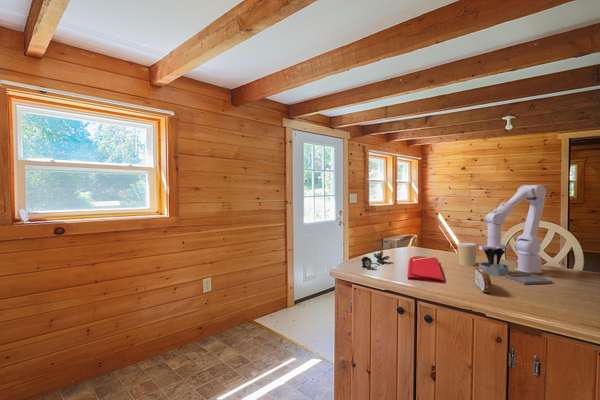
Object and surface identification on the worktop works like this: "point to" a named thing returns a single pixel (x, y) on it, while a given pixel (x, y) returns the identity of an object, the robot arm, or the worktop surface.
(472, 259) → the coffee cup
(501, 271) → the blue-grey octagonal bowl
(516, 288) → the worktop surface
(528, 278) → the tray
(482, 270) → the tin
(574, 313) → the worktop surface
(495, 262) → the dowel pin
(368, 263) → the artificial flower
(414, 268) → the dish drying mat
